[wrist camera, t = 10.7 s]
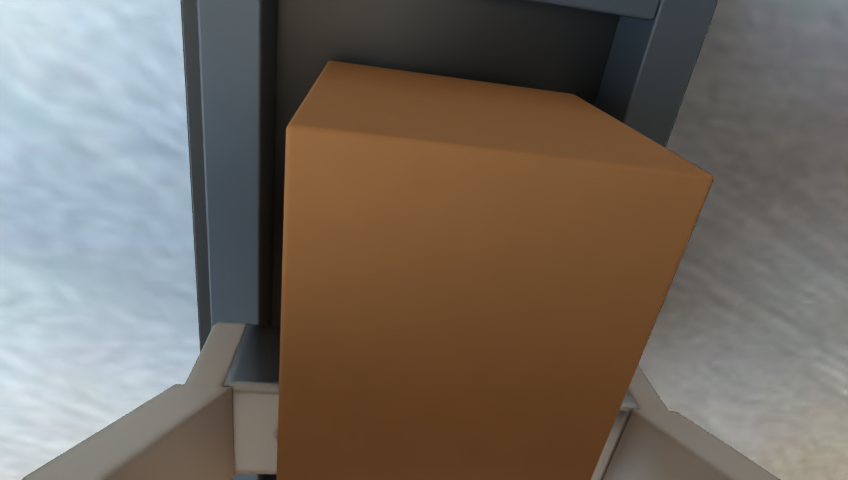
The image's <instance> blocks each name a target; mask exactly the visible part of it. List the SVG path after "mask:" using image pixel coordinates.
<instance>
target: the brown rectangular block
mask: <svg viewBox="0 0 848 480" xmlns="http://www.w3.org/2000/svg"><path fill="white" fill-rule="evenodd" d="M712 182H713V176H712V175H711V174H709V173H707V172H706V171H704V170H702V169H701V168H699V167H697V166H695V165H694V164H692V163H690V162H689V161H687V160H685V159H683V158H682V157H680V156H678V155H677V154H675V153H673V152H671V151H670V150H668V149H666V148H665V147H663V146H661V145H660V144H658V143H656V142H654V141H653V140H651V139H649V138H648V137H646V136H644V135H642V134H641V133H639V132H637V131H636V130H634V129H632V128H631V127H629V126H627V125H625V124H624V123H622V122H620V121H619V120H617V119H615V118H613V117H612V116H610V115H608V114H607V113H605V112H603V111H602V110H600V109H598V108H596V107H595V106H593V105H591V104H590V103H588V102H586V101H584V100H583V99H581V98H579V97H578V96H576V95H574V94H570V93H562V92H555V91H548V90H541V89H534V88H526V87H519V86H512V85H505V84H497V83H490V82H483V81H476V80H468V79H461V78H454V77H447V76H439V75H432V74H425V73H418V72H410V71H403V70H396V69H389V68H381V67H374V66H367V65H360V64H352V63H345V62H338V61H328V63H327V65H326V66H325V68H324V69H323V71H322V72H321V74H320V75H319V77H318V79H317V80H316V82H315V83H314V85H313V86H312V88H311V90H310V91H309V93H308V94H307V96H306V97H305V99H304V100H303V102H302V104H301V105H300V107H299V108H298V110H297V111H296V113H295V114H294V116H293V118H292V119H291V121H290V122H289V124H288V126H287V128H286V148H285V185H284V221H283V258H282V294H281V331H280V367H279V404H278V440H277V477H276V480H591V478H592V476H593V473H594V471H595V468H596V466H597V463H598V461H599V459H600V456H601V454H602V451H603V449H604V446H605V444H606V441H607V439H608V437H609V434H610V432H611V429H612V427H613V424H614V422H615V419H616V417H617V414H618V412H619V410H620V407H621V405H622V402H623V400H624V397H625V395H626V392H627V390H628V388H629V385H630V383H631V380H632V378H633V375H634V373H635V370H636V368H637V366H638V363H639V361H640V358H641V356H642V353H643V351H644V348H645V346H646V344H647V341H648V339H649V336H650V334H651V331H652V329H653V326H654V324H655V322H656V319H657V317H658V314H659V312H660V309H661V307H662V304H663V302H664V300H665V297H666V295H667V292H668V290H669V287H670V285H671V282H672V280H673V278H674V275H675V273H676V270H677V268H678V265H679V263H680V260H681V258H682V256H683V253H684V251H685V248H686V246H687V243H688V241H689V238H690V236H691V233H692V231H693V229H694V226H695V224H696V221H697V219H698V216H699V214H700V211H701V209H702V207H703V204H704V202H705V199H706V197H707V194H708V192H709V189H710V187H711V185H712Z"/></svg>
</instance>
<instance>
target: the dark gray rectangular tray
mask: <svg viewBox="0 0 848 480" xmlns="http://www.w3.org/2000/svg"><path fill="white" fill-rule="evenodd" d="M717 2H718V0H181V17H182V35H183V53H184V70H185V88H186V106H187V124H188V142H189V160H190V178H191V195H192V213H193V231H194V249H195V267H196V285H197V302H198V320H199V338H200V352H201V350H202V348H203V346H204V344H205V342H206V340H207V338H208V336H209V334H210V332H211V330H212V328H213V326H214V325H215V324H216V323H218V322H230V323H243V324H247V325H248V324H256V325H266V326H277V327H281V294H282V258H283V221H284V185H285V148H286V128H287V126H288V124H289V122H290V121H291V119H292V118H293V116H294V114H295V113H296V111H297V110H298V108H299V107H300V105H301V104H302V102H303V100H304V99H305V97H306V96H307V94H308V93H309V91H310V90H311V88H312V86H313V85H314V83H315V82H316V80H317V79H318V77H319V75H320V74H321V72H322V71H323V69H324V68H325V66H326V65H327V63H328V61H338V62H345V63H352V64H360V65H367V66H374V67H381V68H389V69H396V70H403V71H410V72H418V73H425V74H432V75H439V76H447V77H454V78H461V79H468V80H476V81H483V82H490V83H497V84H505V85H512V86H519V87H526V88H534V89H541V90H548V91H555V92H562V93H570V94H574V95H576V96H578V97H579V98H581V99H583V100H584V101H586V102H588V103H590V104H591V105H593V106H595V107H596V108H598V109H600V110H602V111H603V112H605V113H607V114H608V115H610V116H612V117H613V118H615V119H617V120H619V121H620V122H622V123H624V124H625V125H627V126H629V127H631V128H632V129H634V130H636V131H637V132H639V133H641V134H642V135H644V136H646V137H648V138H649V139H651V140H653V141H654V142H656V143H658V144H660V145H661V146H663V147H666V144H667V142H668V139H669V136H670V133H671V130H672V128H673V125H674V122H675V119H676V117H677V114H678V111H679V108H680V105H681V103H682V100H683V97H684V94H685V91H686V89H687V86H688V83H689V80H690V77H691V75H692V72H693V69H694V66H695V63H696V61H697V58H698V55H699V52H700V49H701V47H702V44H703V41H704V38H705V35H706V33H707V30H708V27H709V24H710V21H711V19H712V16H713V13H714V10H715V8H716V5H717ZM276 477H277V474H234V477H233V478H232V479H231V480H276Z"/></svg>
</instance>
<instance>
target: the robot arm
mask: <svg viewBox="0 0 848 480" xmlns="http://www.w3.org/2000/svg"><path fill="white" fill-rule="evenodd" d="M280 331H281V327H277V326H266V325H256V324H248V325H247V324H243V323H230V322H218V323H216V324H215V325H214V326H213V328H212V330H211V332H210V334H209V336H208V338H207V340H206V342H205V344H204V346H203V348H202V350H201V352H200V354H199V356H198V358H197V360H196V363H195V365H194V367H193V369H192V371H191V373H190V375H189V377H188V379H187V381H186V383H185V385H181V384H175V385H173V386H172V387H170V388H169V389H167V390H165V391H164V392H162V393H160V394H159V395H157V396H156V397H154V398H152V399H151V400H149V401H147V402H146V403H144V404H143V405H141V406H139V407H138V408H136V409H134V410H133V411H131V412H130V413H128V414H126V415H125V416H123V417H121V418H120V419H118V420H117V421H115V422H113V423H112V424H110V425H108V426H107V427H105V428H104V429H102V430H100V431H99V432H97V433H95V434H94V435H92V436H90V437H89V438H87V439H86V440H84V441H82V442H81V443H79V444H77V445H76V446H74V447H73V448H71V449H69V450H68V451H66V452H64V453H63V454H61V455H60V456H58V457H56V458H55V459H53V460H51V461H50V462H48V463H47V464H45V465H43V466H42V467H40V468H38V469H37V470H35V471H34V472H32V473H30V474H29V475H27V476H25V477H24V478H23V479H22V480H231V479H232V478H233V477H234V474H277V440H278V404H279V367H280ZM591 480H780V479H779V478H777V477H776V476H774V475H773V474H771V473H769V472H768V471H766V470H765V469H763V468H762V467H760V466H759V465H757V464H756V463H754V462H753V461H751V460H750V459H748V458H747V457H745V456H744V455H742V454H741V453H739V452H738V451H736V450H735V449H733V448H732V447H730V446H728V445H727V444H725V443H724V442H722V441H721V440H719V439H718V438H716V437H715V436H713V435H712V434H710V433H709V432H707V431H706V430H704V429H703V428H701V427H700V426H698V425H697V424H695V423H694V422H692V421H691V420H689V419H687V418H686V417H684V416H683V415H681V414H680V413H678V412H673V411H669V410H668V409H667V407H666V406H665V404H664V403H663V401H662V400H661V398H660V397H659V395H658V394H657V392H656V391H655V390H654V388H653V387H652V385H651V384H650V382H649V381H648V379H647V378H646V376H645V375H644V373H643V372H642V370H641V369H640V367H639V366H637V368H636V370H635V373H634V375H633V378H632V380H631V383H630V385H629V388H628V390H627V392H626V395H625V397H624V400H623V402H622V405H621V407H620V410H619V412H618V414H617V417H616V419H615V422H614V424H613V427H612V429H611V432H610V434H609V437H608V439H607V441H606V444H605V446H604V449H603V451H602V454H601V456H600V459H599V461H598V463H597V466H596V468H595V471H594V473H593V476H592V478H591Z"/></svg>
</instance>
